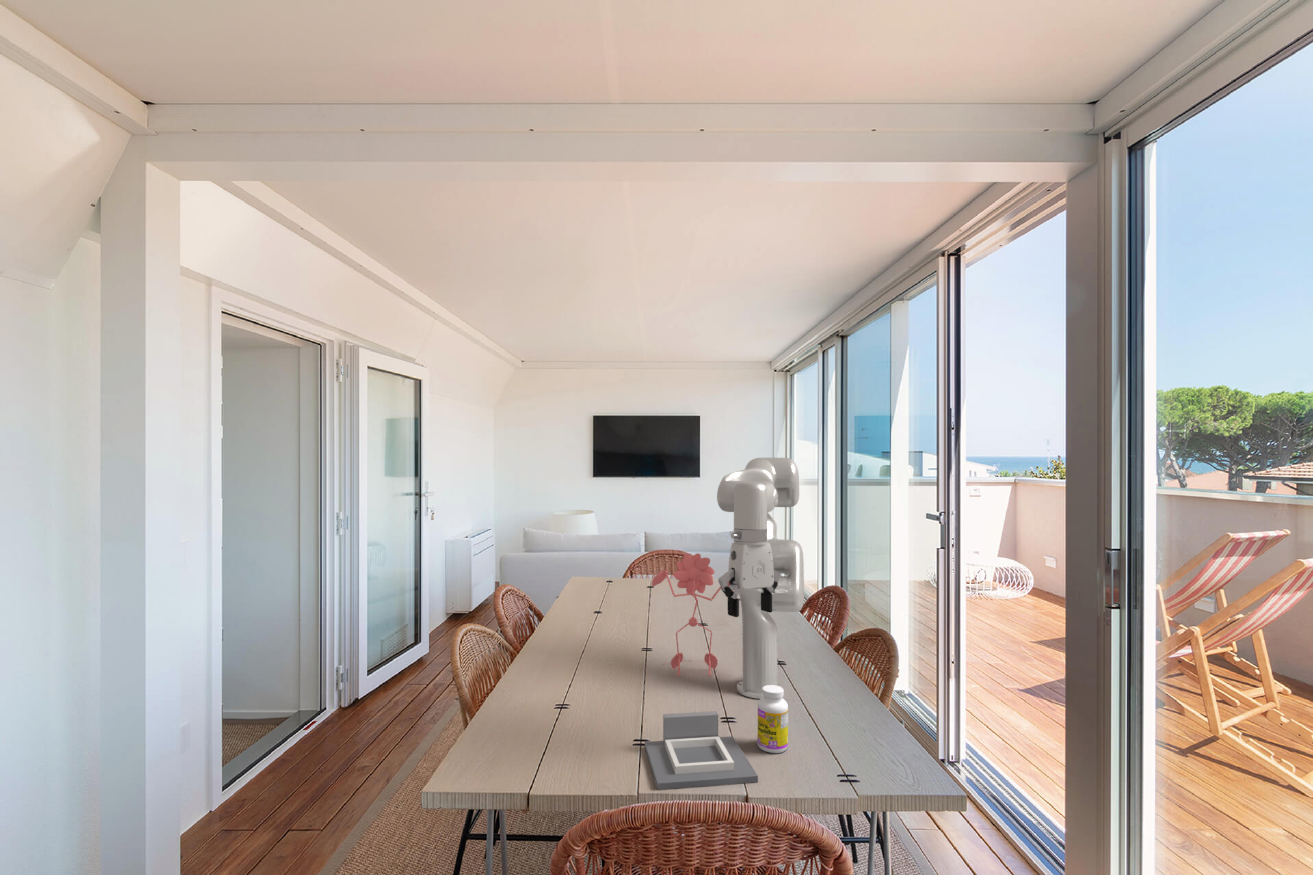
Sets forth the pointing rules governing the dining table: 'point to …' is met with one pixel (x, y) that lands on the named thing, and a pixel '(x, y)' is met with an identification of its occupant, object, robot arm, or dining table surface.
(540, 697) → the dining table surface
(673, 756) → the dock
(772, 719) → the supplement bottle
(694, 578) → the pink stick figure
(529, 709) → the dining table surface
